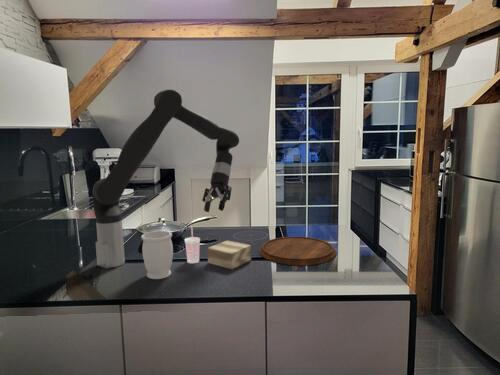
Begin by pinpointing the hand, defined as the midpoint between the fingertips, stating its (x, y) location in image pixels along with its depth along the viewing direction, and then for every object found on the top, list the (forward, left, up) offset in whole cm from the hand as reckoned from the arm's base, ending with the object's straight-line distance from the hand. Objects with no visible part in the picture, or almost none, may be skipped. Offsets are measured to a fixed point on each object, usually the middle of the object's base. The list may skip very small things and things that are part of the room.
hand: (213, 210), depth 154 cm
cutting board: (+20, -28, -19) cm, 39 cm away
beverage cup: (-13, 0, -18) cm, 22 cm away
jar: (-30, 0, -18) cm, 35 cm away
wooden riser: (-5, -12, -18) cm, 22 cm away
